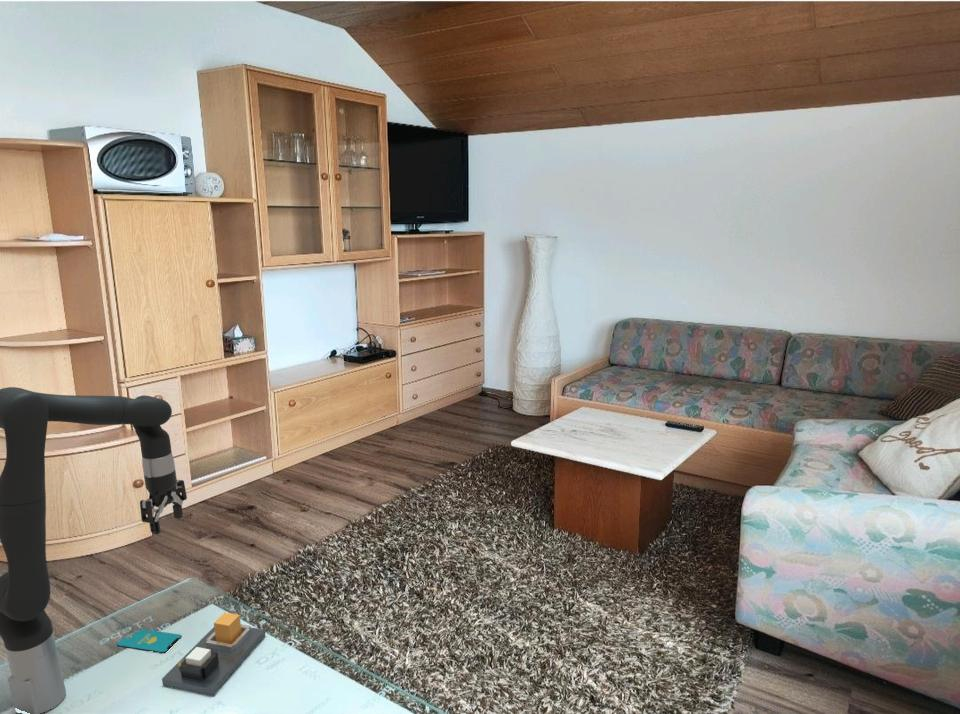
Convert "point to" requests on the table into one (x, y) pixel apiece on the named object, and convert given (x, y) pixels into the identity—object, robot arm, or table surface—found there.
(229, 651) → the grey control panel
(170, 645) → the smartphone
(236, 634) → the cap
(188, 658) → the button
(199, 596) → the table surface
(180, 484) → the robot arm
